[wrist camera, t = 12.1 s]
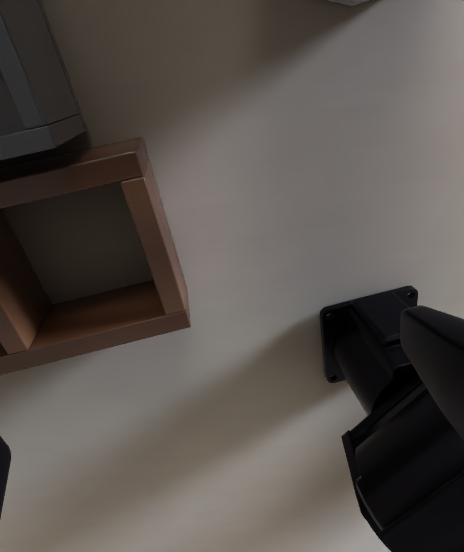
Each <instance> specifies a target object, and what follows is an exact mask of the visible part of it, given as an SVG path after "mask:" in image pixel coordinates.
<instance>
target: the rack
mask: <svg viewBox="0 0 464 552" xmlns="http://www.w3.org/2000/svg"><path fill="white" fill-rule="evenodd" d="M120 181H121V182H120ZM116 182H120V184H121V187H122V190H123V193H124V196H125V199H126V202H127V205H128V208H129V210H130V213H131V216H132V219H133V222H134V225H135V228H136V231H137V234H138V237H139V239H140V242H141V245H142V248H143V251H144V254H145V257H146V260H147V263H148V266H149V269H150V271H151V274H152V277H153V280H152V281H148V282H144V283H140V284H136V285H132V286H128V287H124V288H120V289H116V290H112V291H107V292H103V293H99V294H95V295H91V296H87V297H83V298H79V299H75V300H71V301H67V302H63V303H59V304H55V305H51V302H50V301H49V299H48V297H47V295H46V293H45V291H44V289H43V287H42V285H41V283H40V281H39V280H38V278H37V276H36V274H35V272H34V270H33V268H32V266H31V264H30V262H29V261H28V259H27V257H26V255H25V253H24V251H23V249H22V247H21V245H20V243H19V242H18V240H17V238H16V236H15V234H14V232H13V230H12V228H11V226H10V224H9V222H8V221H7V219H6V217H5V215H4V213H3V211H2V209H3V208H7V207H12V206H16V205H20V204H25V203H29V202H33V201H38V200H42V199H46V198H51V197H55V196H59V195H64V194H68V193H72V192H77V191H81V190H85V189H90V188H94V187H98V186H103V185H107V184H111V183H116ZM190 326H191V324H190V314H189V305H188V295H187V286H186V283H185V280H184V276H183V274H182V270H181V266H180V263H179V259H178V256H177V253H176V249H175V246H174V242H173V239H172V236H171V232H170V229H169V225H168V222H167V219H166V215H165V212H164V209H163V205H162V202H161V198H160V195H159V192H158V188H157V185H156V181H155V178H154V175H153V171H152V168H151V164H150V161H149V159H148V154H147V151H146V148H145V144H144V141H143V138H142V137H139V138H135V139H130V140H126V141H121V142H117V143H112V144H108V145H103V146H99V147H95V148H90V149H86V150H81V151H77V152H72V153H68V154H64V155H59V156H55V157H50V158H46V159H41V160H37V161H32V162H28V163H24V164H19V165H15V166H10V167H6V168H1V169H0V375H3V374H7V373H11V372H15V371H18V370H22V369H26V368H30V367H34V366H38V365H42V364H46V363H50V362H54V361H58V360H62V359H66V358H70V357H74V356H78V355H82V354H86V353H90V352H93V351H97V350H101V349H105V348H109V347H113V346H117V345H121V344H125V343H129V342H133V341H137V340H141V339H145V338H149V337H153V336H157V335H161V334H164V333H168V332H172V331H176V330H180V329H184V328H188V327H190Z"/></svg>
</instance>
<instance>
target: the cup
mask: <svg viewBox="0 0 464 552" xmlns="http://www.w3.org/2000/svg"><path fill="white" fill-rule="evenodd" d="M329 1H333V2H337V3H341V4H345V5H349V6H354V5H357V4H360V3H363V2H366V1H369V0H329Z"/></svg>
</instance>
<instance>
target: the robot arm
mask: <svg viewBox="0 0 464 552" xmlns="http://www.w3.org/2000/svg"><path fill="white" fill-rule="evenodd" d="M409 293H410V294H409ZM408 294H409V295H408ZM417 299H418V291H417V290H416V289H415V288H414V287H412V286H405V287H402V288H398V289H394V290H390V291H385V292H381V293H378V294H374V295H370V296H366V297H362V298H358V299H355V300H351V301H347V302H343V303H339V304H335V305H331V306H327V307H325V308H323V309H322V310H321V311H320V325H321V336H322V348H323V359H324V371H325V377H326V379H327V381H328V382H329V383H336V382H339V381H343V380H346V381H347V382H348V384H349V386H350V387H351V389H352V391H353V392H354V394H355V395H356V397H357V399H358V400H359V402H360V404H361V405H362V407H363V409H364V410H365V412H366V414H367V415H368V416H367V417H366V418H365V419H364V420H362V421H361V422H360V423H359V424H358V425H357V426H356V427H354V428H353V429H352V430H351V431H349V430H348V431H347V432H346V433H345V434H344V435H342V436H341V438H342V442H343V446H344V450H345V454H346V458H347V462H348V466H349V470H350V474H351V478H352V482H353V486H354V490H355V494H356V497H357V500H358V504H359V508H360V511H361V513H362V515H363V517H364V518H365V519H366V520H367V521H368V523H369V525H370V526H371V528H372V529H373V531H374V532H375V533H376V535H377V536H378V537H379V539H380V540H381V541H382V542H383V543H384V545H385V546H386V547H387V548H388V549H389V550H390V551H391V552H464V319H461V318H458V317H455V316H452V315H449V314H446V313H443V312H440V311H437V310H434V309H431V308H428V307H425V306H417ZM328 313H330V315H329V316H326V315H327V314H328ZM333 375H334V376H333ZM331 376H332V377H331ZM10 462H11V451H10V448H9V446H8V445H7V444H6V442H5V441H4V440H3V439H2V437H1V436H0V518H1V512H2V507H3V501H4V496H5V490H6V484H7V479H8V473H9V468H10Z"/></svg>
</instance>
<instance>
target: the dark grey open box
mask: <svg viewBox="0 0 464 552" xmlns="http://www.w3.org/2000/svg"><path fill="white" fill-rule="evenodd" d="M85 130H87V127H86V124H85V121H84V118H83V116H82V113H81V110H80V107H79V104H78V102H77V99H76V96H75V93H74V91H73V88H72V85H71V82H70V80H69V77H68V74H67V71H66V69H65V66H64V63H63V60H62V58H61V55H60V52H59V49H58V46H57V44H56V41H55V38H54V35H53V33H52V30H51V27H50V24H49V22H48V19H47V16H46V13H45V11H44V8H43V5H42V2H41V0H0V161H1V160H5V159H10V158H14V157H19V156H23V155H28V154H32V153H37V152H41V151H45V150H50V149H54V148H57V147H58V146H60V145H62V144H63V143H65V142H67V141H68V140H70V139H72V138H74V137H75V136H77V135H79V134H80V133H82V132H84V131H85Z"/></svg>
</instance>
